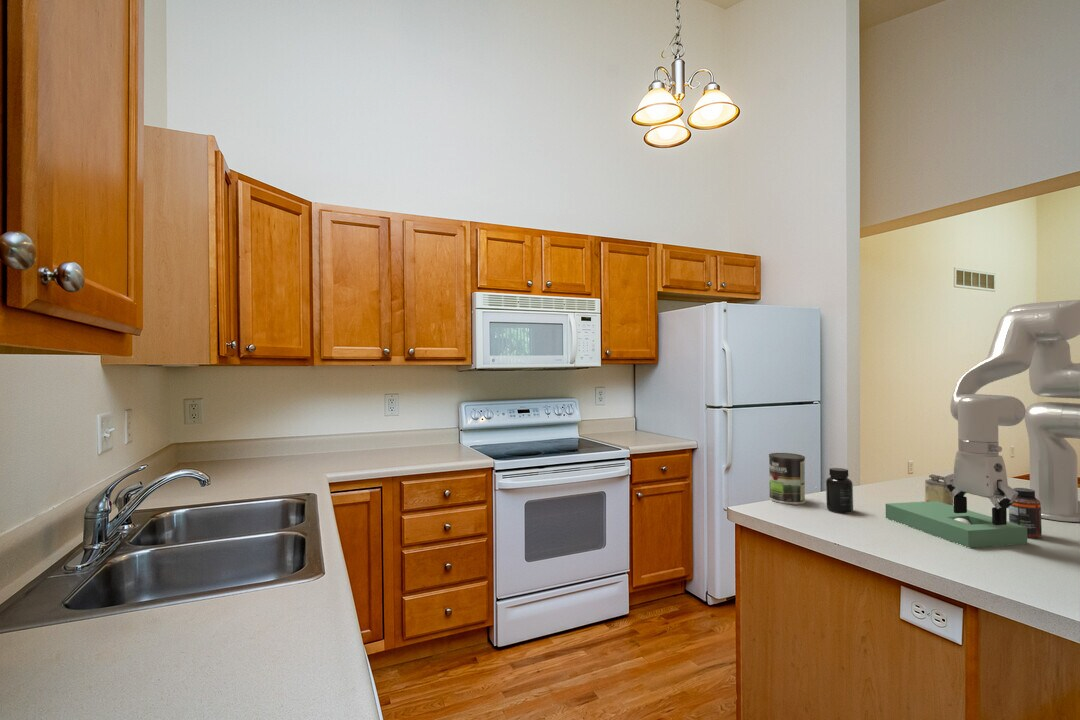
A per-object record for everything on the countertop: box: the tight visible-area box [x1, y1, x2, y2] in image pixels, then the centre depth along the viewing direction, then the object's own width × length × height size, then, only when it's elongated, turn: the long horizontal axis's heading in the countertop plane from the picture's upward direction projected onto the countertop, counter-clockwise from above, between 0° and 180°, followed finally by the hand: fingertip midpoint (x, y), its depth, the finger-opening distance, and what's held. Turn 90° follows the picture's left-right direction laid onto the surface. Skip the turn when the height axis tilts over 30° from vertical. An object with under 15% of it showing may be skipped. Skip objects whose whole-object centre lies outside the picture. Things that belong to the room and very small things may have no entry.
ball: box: [954, 518, 971, 525], centre depth 130 cm, size 4×4×4 cm
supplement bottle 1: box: [825, 467, 854, 514], centre depth 153 cm, size 7×7×12 cm
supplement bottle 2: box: [1008, 487, 1043, 539], centre depth 130 cm, size 6×6×11 cm
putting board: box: [885, 501, 1028, 548], centre depth 134 cm, size 16×24×4 cm, turn 8°
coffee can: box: [768, 452, 806, 505], centre depth 165 cm, size 10×10×14 cm
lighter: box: [924, 473, 954, 506], centre depth 153 cm, size 7×4×10 cm, turn 23°
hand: (979, 518), depth 127 cm, fingers open, 9 cm apart
